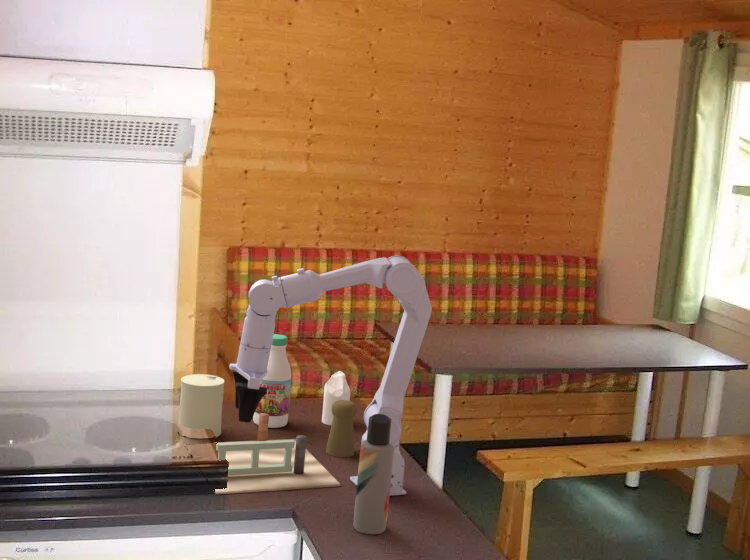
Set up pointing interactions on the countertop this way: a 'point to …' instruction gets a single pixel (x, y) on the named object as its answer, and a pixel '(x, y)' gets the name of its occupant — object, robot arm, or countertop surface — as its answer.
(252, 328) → the robot arm
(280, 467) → the bar
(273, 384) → the milk bottle
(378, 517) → the lotion bottle
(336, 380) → the white chalk piece
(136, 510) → the countertop surface
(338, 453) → the cork
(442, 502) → the countertop surface
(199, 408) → the can
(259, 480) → the base
